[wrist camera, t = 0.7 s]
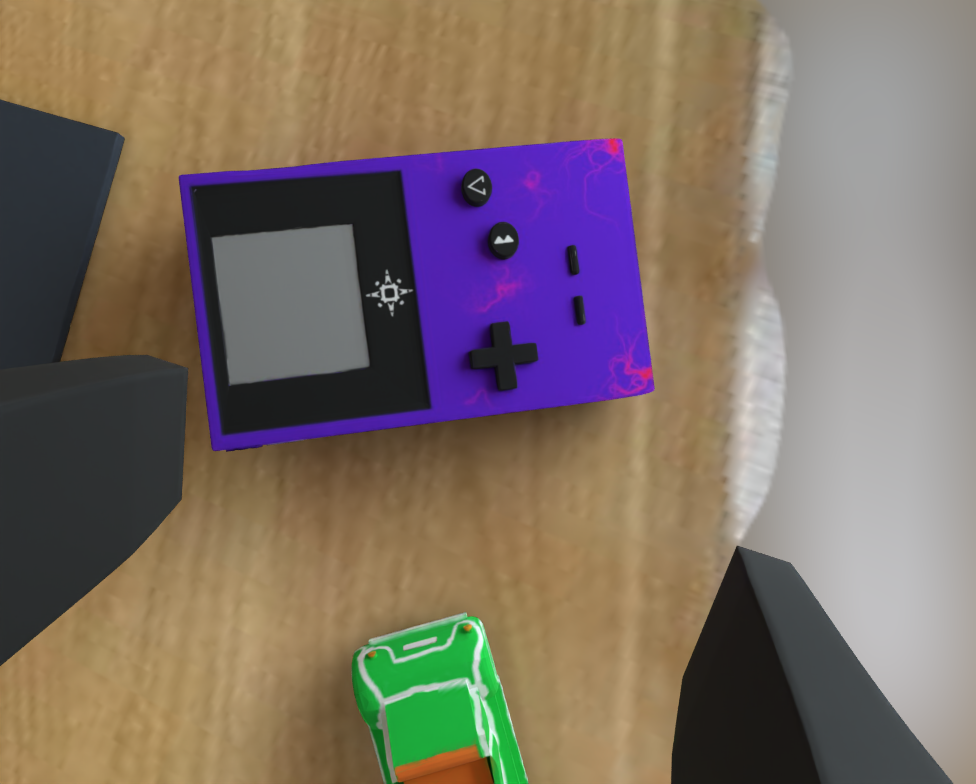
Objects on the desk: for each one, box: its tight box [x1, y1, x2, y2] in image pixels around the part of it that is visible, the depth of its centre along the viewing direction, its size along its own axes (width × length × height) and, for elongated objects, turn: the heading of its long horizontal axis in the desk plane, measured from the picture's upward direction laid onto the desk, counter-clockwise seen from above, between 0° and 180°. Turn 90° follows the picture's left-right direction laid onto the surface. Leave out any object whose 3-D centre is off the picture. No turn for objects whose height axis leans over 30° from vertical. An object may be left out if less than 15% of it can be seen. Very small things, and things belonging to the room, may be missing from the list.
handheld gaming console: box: [179, 139, 655, 452], centre depth 28 cm, size 9×5×15 cm
